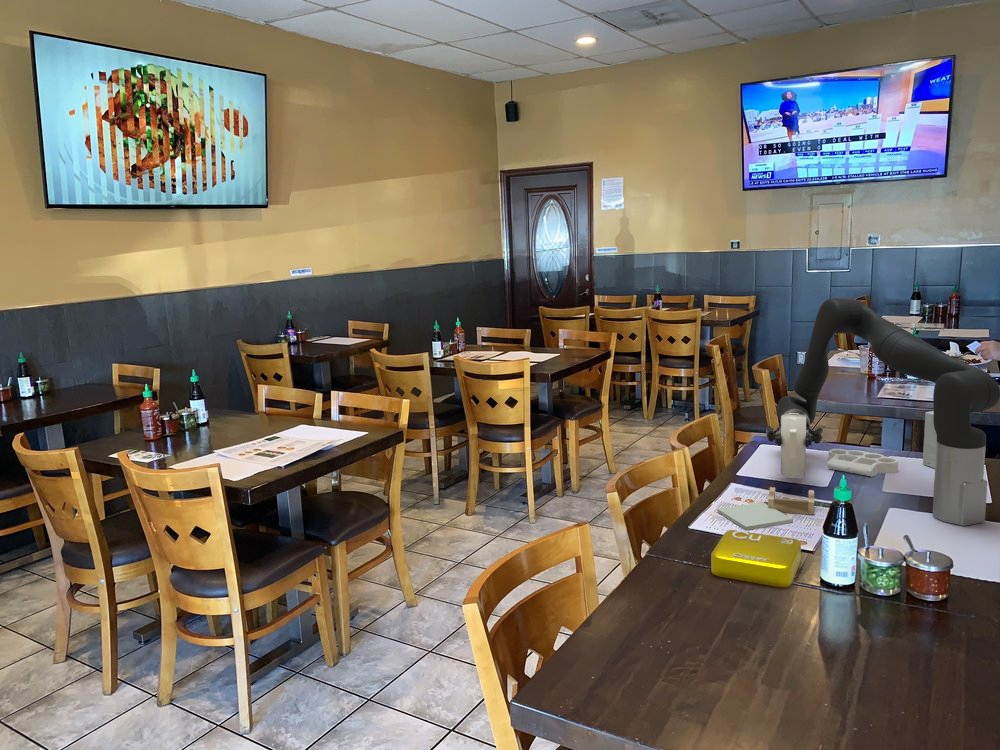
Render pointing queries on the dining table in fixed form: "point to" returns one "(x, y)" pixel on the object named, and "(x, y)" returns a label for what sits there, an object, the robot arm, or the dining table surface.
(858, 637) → the dining table surface
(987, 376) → the robot arm
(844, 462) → the knuckle duster
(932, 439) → the skincare box
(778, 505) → the holder
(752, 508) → the plate
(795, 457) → the jug
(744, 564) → the element tile
